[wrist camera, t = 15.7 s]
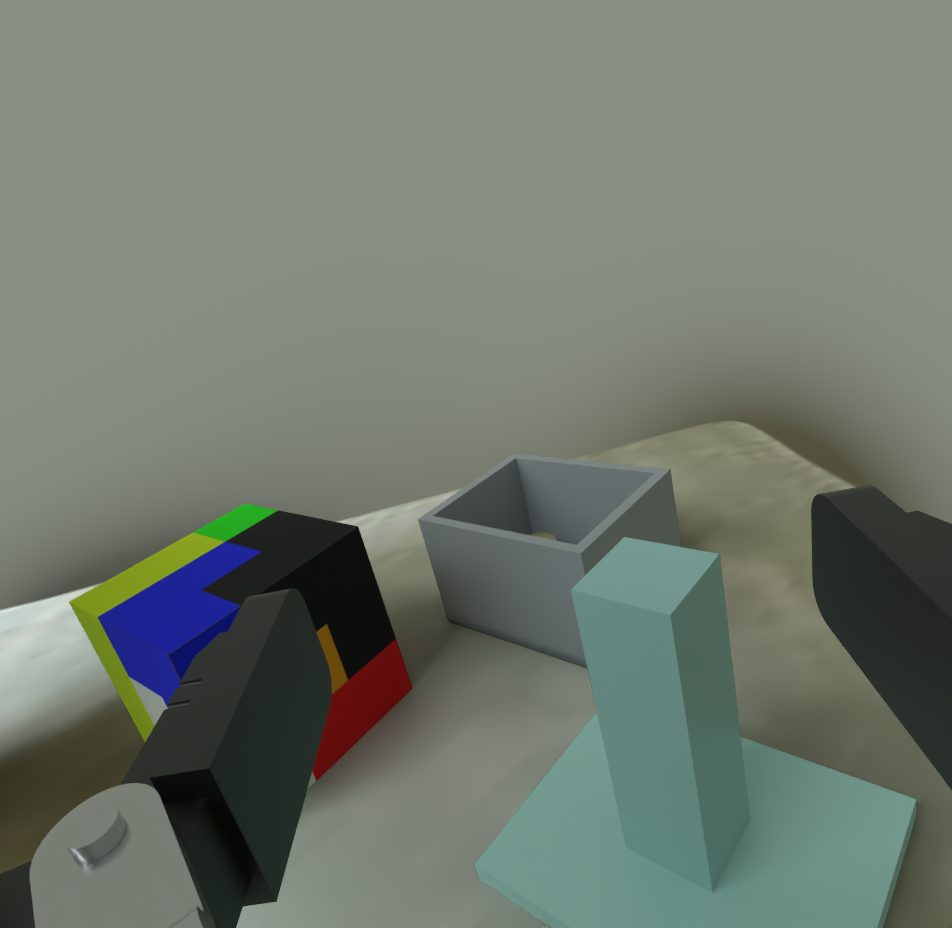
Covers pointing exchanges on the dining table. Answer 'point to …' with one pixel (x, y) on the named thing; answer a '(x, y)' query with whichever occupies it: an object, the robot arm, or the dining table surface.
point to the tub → (540, 543)
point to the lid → (687, 783)
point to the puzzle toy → (219, 600)
